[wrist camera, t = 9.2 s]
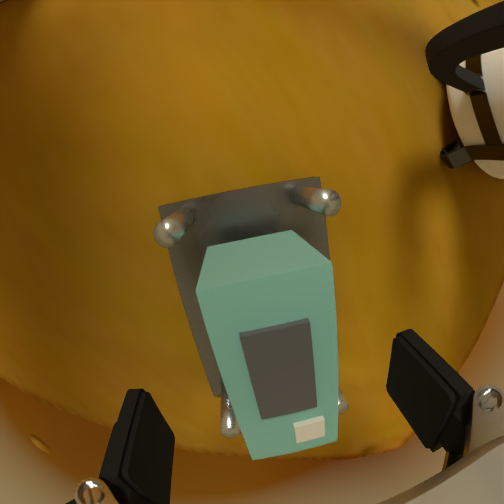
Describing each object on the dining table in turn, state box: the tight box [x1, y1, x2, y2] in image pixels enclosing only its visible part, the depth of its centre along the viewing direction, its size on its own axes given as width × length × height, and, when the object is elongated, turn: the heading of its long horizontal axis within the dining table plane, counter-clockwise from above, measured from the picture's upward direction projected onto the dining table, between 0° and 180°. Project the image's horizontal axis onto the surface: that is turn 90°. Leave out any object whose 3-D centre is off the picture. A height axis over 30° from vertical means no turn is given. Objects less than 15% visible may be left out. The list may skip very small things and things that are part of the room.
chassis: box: [154, 177, 348, 438], centre depth 16 cm, size 15×10×6 cm, turn 10°
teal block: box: [196, 230, 338, 460], centre depth 13 cm, size 10×4×6 cm, turn 11°
